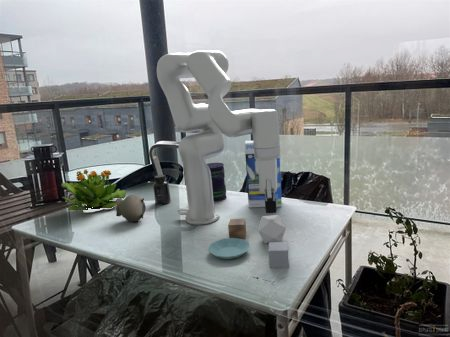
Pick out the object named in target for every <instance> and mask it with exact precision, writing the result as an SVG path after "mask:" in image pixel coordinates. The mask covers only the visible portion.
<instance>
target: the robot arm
mask: <svg viewBox="0 0 450 337" xmlns="http://www.w3.org/2000/svg"><path fill="white" fill-rule="evenodd" d="M228 70H229V60H228V57H227V56H226V55H225V54H224V53H223V52H222V51H220V50H209V49H207V50H205V49H203V50H202V49H201V50H196V51H193V52H186V53H185V52H173V53H172V52H171V53H167V54H164V55H163V56H161V57H160V58H159V59H158V61H157V66H156V76H157V81H158V83H159V86H160V88H161V89H162V91H163V93H164V95H165V97H166V100H167V103H168V106H169V110H170V112H171V116H172V119H173V123H174V125H175V127H176V129H177V130H178V131H179V132H181V133H190V132H195V131H200V133H198V132H197V133H195V134H189V135H187V136H184V137H183V138H182V139H181V140H180V141H179V144H178V152H179V155H180V159H181V163H182V166H183V173H184V181H185V189H186V191H185V192H186V198H187V206H186V207H185V208H183V207H182V208H178V209H177V213H178V214H179V216H185V222H186V223H187V224H190V225H196V226H197V225H200V226H201V225H207V224H211V223H214V222H216V221H217V220H219V218H220V213H219V212H218V211H216V210H215V202H214V200H213V190H212V179H211V172H210V169H209V167H208V165H207V164H208V163H207V162H206V161H205V160H207V159H210V158H215V157H217V156H220V155H221V154H222V153H223V152H224V150H225V141H224V135H225V136H226V137H228V138H238V137H241V136H247V135H252V139H253V140H252V141H253V143H254V156H255V159H257V160H258V171H259V188H260V193H262V192H264V190H265V207H264V208H265V214H277V207H276V199H275V192H276V190H277V158H279V157H280V158H281V155H282V154H281V141H280V124H279V113H278V111H277V110H276V109H274V108H267V109H266V108H264V109H258V108H246V109H239V110H233V111H232V110H231V109H230V108H229V107H228V105H227V104H226V102H225V101H224V100H223V98H224V97H225V96H226V95H227V94H228V92H230V89H231V87H232V81H231V79H230V78H229V77H228V75H227V74H226V73H227V72H228ZM191 78H193V79H195V81H196V82H197V84H198V85H199V86H200V87H201V89H202V90H203V91H204V93H205V94H206V95H207V98H208V99H207V103H194V100H193V99H192V95H191V92H190V90H189V88H188V87H187V86H186V85H185V84H184V83H183V82H182V81H181V79H191Z"/></svg>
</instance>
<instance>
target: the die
mask: <svg viewBox="0 0 450 337" xmlns="http://www.w3.org/2000/svg"><path fill="white" fill-rule="evenodd" d="M286 229H287V227H286V225H285V224H284V222H283V220H282V219H281V217H280V216H279V214H271V215H262V216H261V218H260V221H259V223H258V227H257V232H258V234H259V235H260V237H261V239H262V241H263V244H269V242H283V238H284V236H285V232H286Z"/></svg>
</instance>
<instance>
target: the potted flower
mask: <svg viewBox="0 0 450 337" xmlns="http://www.w3.org/2000/svg"><path fill="white" fill-rule="evenodd" d="M89 172H90V173H89ZM85 175H86V176H87V178H86V176H85ZM111 175H112V172H111V171H110V170H106V169H105V170H104V171H102V172H100V174H97V172H96V171H95V170H93V171H88V169H86V168H85V169H84V170H83V172H81V170H79V171H77V172H76V178H75V180H77V181H78V182H69V183H68V182H62V183H61V188H64V189H67V190H68V192H70V193H71V194H72V195H73V196H72V197H73V198H74V200H73V199H71V198H67V197H66V196H61V198H63V199H64V200H66V201H67V202H68V203H69V204H71V205H70V206H68V209H67V210H68V211H82V210H88V208H91V209H100V208H112V207H113V208H115V207H116V205H117V202H116V199H117V198H118V199H119V198H121V199H122V200H124V199H125V198H126V195H127V193H128V191H127V190H124V189H123V190H121V189H120V188H117V189H116V187H117V183H113V184H112V183H111V182H108V180H109V179H110V176H111ZM106 182H107V184H106ZM115 189H116V190H115ZM86 205H87V206H86ZM92 207H93V208H92ZM86 208H87V209H86ZM113 208H112V209H113Z"/></svg>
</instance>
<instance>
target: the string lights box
mask: <svg viewBox="0 0 450 337" xmlns="http://www.w3.org/2000/svg"><path fill="white" fill-rule="evenodd" d="M244 153H245V154H244V155H245V171H246V185H247V186H246V188H247V200H248V208H265V190H264V192H262V193H260V188H259V171H258V160H257V159H255V156H254V143H253V140H245V143H244ZM275 199H276V208H277V207H282V203H283V202H282V200H283V198H282V176H281V157H279V158H277V190H276V192H275Z"/></svg>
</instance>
